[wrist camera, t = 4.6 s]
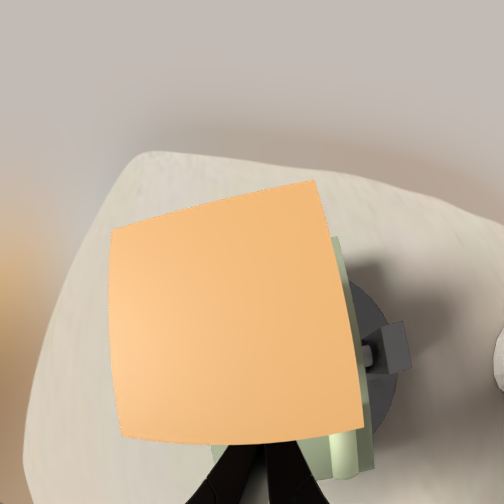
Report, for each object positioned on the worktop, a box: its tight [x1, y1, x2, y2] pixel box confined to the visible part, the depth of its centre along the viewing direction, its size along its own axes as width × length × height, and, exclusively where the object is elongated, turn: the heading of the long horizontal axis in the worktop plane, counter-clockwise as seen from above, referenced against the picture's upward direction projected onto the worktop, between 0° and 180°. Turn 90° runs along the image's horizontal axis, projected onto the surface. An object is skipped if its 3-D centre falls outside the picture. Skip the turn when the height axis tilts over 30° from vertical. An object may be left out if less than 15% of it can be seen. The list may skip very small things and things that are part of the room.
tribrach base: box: [348, 280, 412, 434], centre depth 15 cm, size 15×15×6 cm
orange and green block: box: [109, 180, 374, 481], centre depth 10 cm, size 14×10×11 cm
